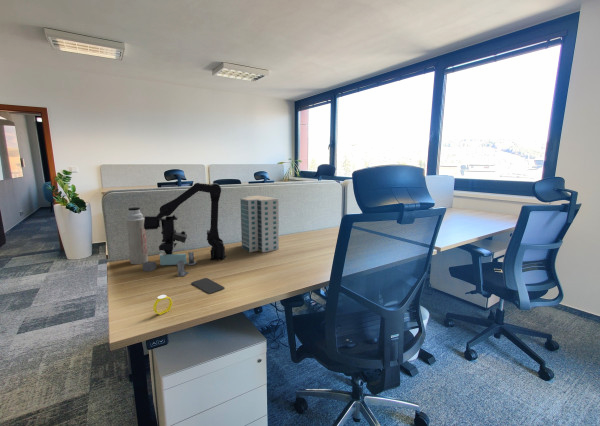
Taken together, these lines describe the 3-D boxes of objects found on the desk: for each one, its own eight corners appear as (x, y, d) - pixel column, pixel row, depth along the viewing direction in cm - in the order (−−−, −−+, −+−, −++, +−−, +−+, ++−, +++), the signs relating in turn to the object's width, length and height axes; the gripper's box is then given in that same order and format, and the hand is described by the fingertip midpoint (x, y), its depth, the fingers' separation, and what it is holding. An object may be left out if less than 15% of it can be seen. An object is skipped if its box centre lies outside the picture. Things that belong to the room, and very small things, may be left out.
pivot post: (197, 262, 145) (197, 251, 144) (193, 265, 141) (193, 254, 140) (189, 262, 146) (188, 250, 144) (185, 265, 141) (184, 253, 140)
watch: (157, 318, 94) (155, 302, 92) (153, 315, 95) (150, 299, 94) (174, 309, 99) (172, 293, 97) (169, 307, 100) (167, 291, 99)
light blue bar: (185, 264, 142) (185, 253, 141) (160, 265, 140) (159, 254, 139) (186, 262, 144) (186, 251, 143) (161, 264, 142) (160, 252, 141)
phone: (209, 293, 110) (190, 282, 120) (209, 295, 110) (190, 284, 120) (225, 287, 115) (206, 277, 125) (225, 289, 116) (206, 279, 125)
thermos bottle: (151, 259, 149) (147, 206, 144) (140, 264, 141) (135, 209, 137) (138, 258, 151) (133, 206, 146) (126, 263, 143) (120, 208, 138)
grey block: (188, 272, 132) (188, 260, 131) (184, 276, 127) (183, 263, 126) (182, 272, 132) (181, 260, 131) (177, 276, 128) (176, 263, 127)
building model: (238, 245, 175) (236, 197, 170) (261, 241, 185) (260, 195, 179) (254, 254, 159) (252, 201, 154) (278, 249, 169) (278, 198, 163)
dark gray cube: (156, 268, 137) (155, 261, 136) (151, 271, 133) (150, 264, 133) (148, 268, 137) (147, 261, 137) (143, 271, 134) (142, 264, 133)
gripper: (183, 232, 135) (185, 263, 138) (187, 224, 153) (189, 251, 156) (157, 233, 132) (160, 265, 135) (165, 225, 150) (167, 253, 153)
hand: (170, 258), depth 145 cm, fingers closed
